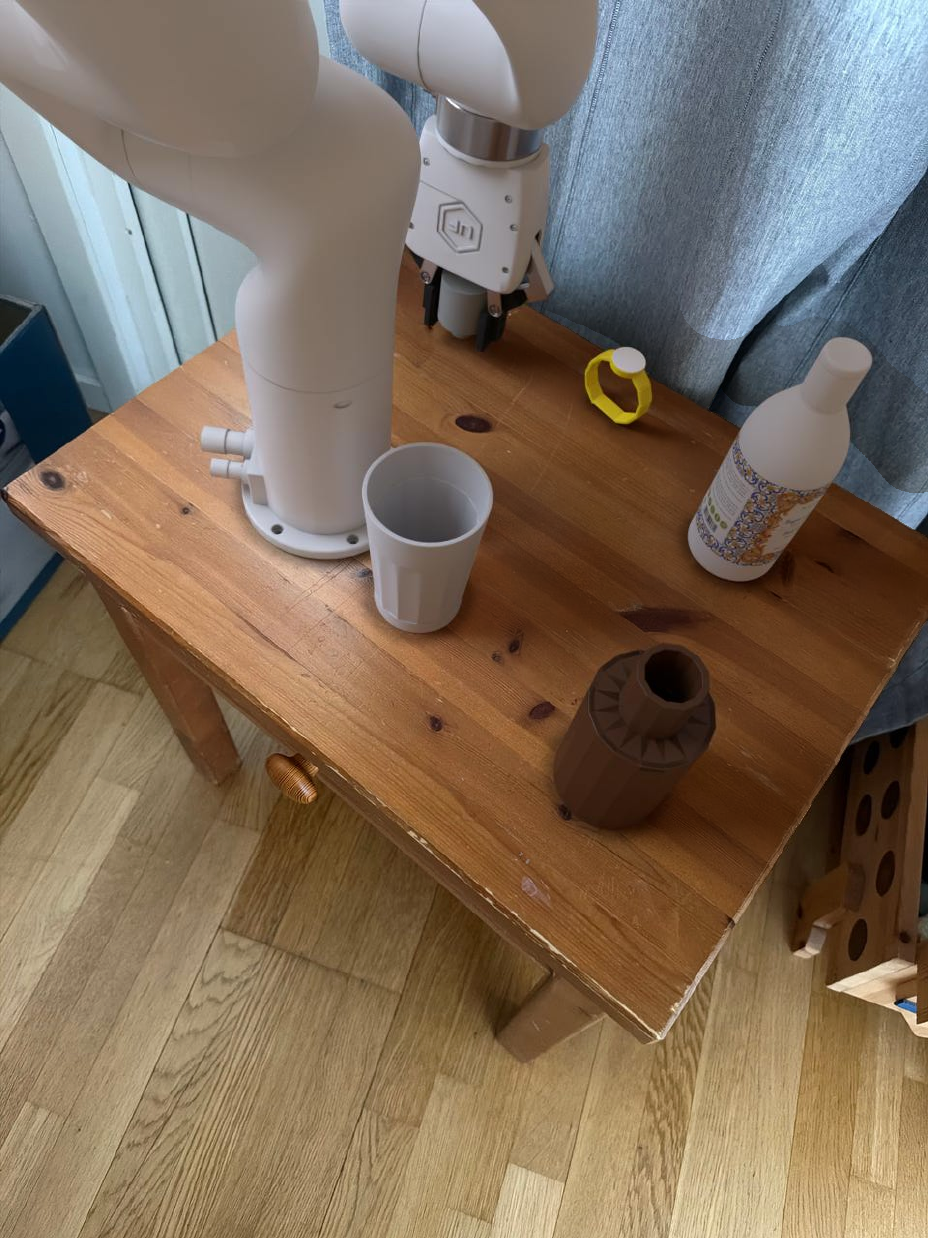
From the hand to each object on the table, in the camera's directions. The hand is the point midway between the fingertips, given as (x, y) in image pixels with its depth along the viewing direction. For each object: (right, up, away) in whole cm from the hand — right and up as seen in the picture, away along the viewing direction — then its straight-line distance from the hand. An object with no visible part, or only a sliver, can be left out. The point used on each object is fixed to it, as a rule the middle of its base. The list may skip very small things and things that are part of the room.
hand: (461, 328), depth 76 cm
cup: (-3, -23, -11) cm, 26 cm away
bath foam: (+21, -19, -7) cm, 29 cm away
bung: (0, 0, 0) cm, 0 cm away
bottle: (+10, -35, -17) cm, 40 cm away
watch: (+12, -7, -1) cm, 14 cm away
